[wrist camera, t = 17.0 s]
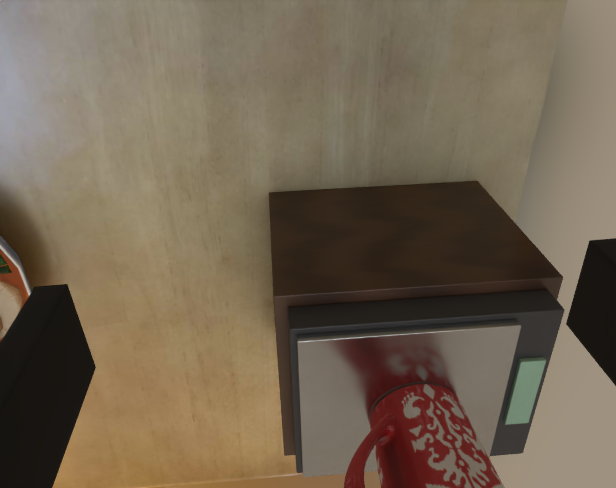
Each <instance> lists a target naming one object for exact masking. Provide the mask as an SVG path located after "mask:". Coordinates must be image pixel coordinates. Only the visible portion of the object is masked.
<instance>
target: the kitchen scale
mask: <svg viewBox="0 0 616 488" xmlns="http://www.w3.org/2000/svg"><path fill="white" fill-rule="evenodd" d="M563 313H564V309H563V307H562V306H561V305H560V304H559V302H558V301H557V300H556V299H555V298H554V296H553V295H552V294H551V293H550V291H549V290H548V289H545V290H530V291H515V292H501V293H486V294H471V295H457V296H442V297H428V298H413V299H398V300H384V301H369V302H354V303H340V304H325V305H311V306H296V307H288V325H289V344H290V362H291V381H292V400H293V419H294V438H295V455H296V469H297V473H302V472H303V477H313V476H323V475H335V474H346V472H347V469H348V466H349V464H350V462H351V459H352V458H353V456H354V454H355V452H356V450H357V449H358V447H359V446H360V444H361V443H362V441H363V440H364V439H365V437H366V436H367V435H368V434H369V432H370V431H371V429H370V418H371V415H372V412H373V410H374V408H375V407H376V405H377V404H378V403H379V402H380V401H381V400H382V399H383V398H384V397H386V396H387V395H388V394H390V393H392V392H393V391H395V390H398V389H400V388H403V387H406V386H410V385H415V384H432V385H438V386H441V387H444V388H446V389H448V390H449V391H451V392H452V393H454V395H455V396H456V397H457V398H458V400H459V401H460V403H461V405H462V406H463V408H464V410H465V412H466V414H467V416H468V418H469V420H470V422H471V424H472V426H473V428H474V431H475V433H476V434H477V436H478V438H479V440H480V442H481V444H482V446H483V448H484V449H485V451H486V453H487V455H488V457H490V456H496V455H506V454H507V455H508V454H519V453H523V450H524V447H525V444H526V440H527V437H528V433H529V429H530V426H531V423H532V419H533V416H534V413H535V409H536V406H537V402H538V399H539V395H540V392H541V389H542V385H543V382H544V378H545V375H546V372H547V368H548V365H549V361H550V358H551V354H552V351H553V348H554V344H555V341H556V337H557V334H558V330H559V327H560V324H561V320H562V317H563ZM369 471H378V467H377V461H376V455H375V450H374V448H373V450H372V451H371V453H370V455H369V457H368V459H367V461H366V465H365V469H364V472H369Z"/></svg>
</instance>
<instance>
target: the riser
mask: <svg viewBox="0 0 616 488" xmlns="http://www.w3.org/2000/svg"><path fill="white" fill-rule="evenodd" d="M269 206H270V230H271V253H272V277H273V299H274V313H275V328H276V342H277V356H278V371H279V385H280V400H281V414H282V428H283V443H284V455H285V456H286V455H295V438H294V419H293V400H292V381H291V362H290V344H289V325H288V307H296V306H311V305H325V304H340V303H354V302H369V301H384V300H398V299H413V298H428V297H442V296H457V295H471V294H486V293H501V292H515V291H530V290H545V289H548V290H549V291H550V293H551V294H552V295H553V296H554V298H555V299H556V300H557V298H558V294H559V290H560V287H561V283H562V280H563V276H562V275H561V274H560V273H559V272H558V271H557V270H556V269H555V268H554V266H553V265H552V264H551V263H550V262H549V261H548V260H547V259H546V258H545V256H544V255H543V254H542V253H541V252H540V251H539V250H538V248H537V247H536V246H535V245H534V244H533V243H532V242H531V241H530V240H529V239H528V237H527V236H526V235H525V234H524V233H523V232H522V231H521V229H520V228H519V227H518V226H517V225H516V224H515V223H514V222H513V220H512V219H511V218H510V217H509V216H508V215H507V214H506V213H505V211H504V210H503V209H502V208H501V207H500V206H499V205H498V204H497V203H496V201H495V200H494V199H493V198H492V197H491V196H490V195H489V194H488V192H487V191H486V190H485V189H484V188H483V187H482V186H481V185H480V184H479V182H478V181H471V182H453V183H435V184H417V185H399V186H381V187H362V188H344V189H326V190H308V191H290V192H272V193H269Z"/></svg>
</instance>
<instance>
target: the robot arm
mask: <svg viewBox="0 0 616 488" xmlns="http://www.w3.org/2000/svg"><path fill="white" fill-rule="evenodd" d="M566 324H567V326H568V327H569V328H570V329H571V331H572V332H573V333H574V334H575V336H576V337H577V338H578V339H579V341H580V342H581V343H582V344H583V346H584V347H585V348H586V349H587V351H588V352H589V353H590V354H591V356H592V357H593V358H594V359H595V361H596V362H597V363H598V364H599V366H600V367H601V368H602V369H603V371H604V372H605V373H606V374H607V375H608V377H609V378H610V379H611V380H612V382H613V383H614V384H615V386H616V239H604V240H592V241H589V245H588V248H587V251H586V255H585V259H584V262H583V266H582V269H581V273H580V277H579V280H578V284H577V288H576V291H575V295H574V298H573V302H572V305H571V309H570V312H569V316H568V319H567V323H566ZM95 368H96V367H95V364H94V361H93V358H92V355H91V352H90V349H89V346H88V343H87V341H86V338H85V335H84V332H83V329H82V326H81V323H80V320H79V317H78V314H77V311H76V309H75V306H74V303H73V300H72V297H71V294H70V291H69V288H68V285H67V284H63V285H51V286H39V287H34V289H33V290H32V292H31V294H30V295H29V297H28V299H27V300H26V302H25V303H24V305H23V307H22V308H21V310H20V312H19V313H18V315H17V316H16V318H15V320H14V321H13V323H12V324H11V326H10V328H9V329H8V331H7V333H6V334H5V336H4V337H3V339H2V341H1V342H0V488H52V487H53V484H54V481H55V478H56V476H57V473H58V470H59V467H60V465H61V462H62V459H63V456H64V454H65V451H66V448H67V445H68V443H69V440H70V437H71V434H72V432H73V429H74V426H75V423H76V420H77V418H78V415H79V412H80V409H81V407H82V404H83V401H84V398H85V396H86V393H87V390H88V387H89V385H90V382H91V379H92V376H93V374H94V371H95Z"/></svg>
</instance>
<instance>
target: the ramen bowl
mask: <svg viewBox="0 0 616 488" xmlns="http://www.w3.org/2000/svg"><path fill="white" fill-rule="evenodd" d="M31 292H32V290H31V287H30V285H29V282H28V279H27V277H26V274H25V271H24V269H23V266H22V264H21V261H20V259H19V257H18V255H17V254H16V253H15V251H14V250H13V249H12V248H11V247H10V246H9V245H8V244H7V242H6V241H5V240H4V239H3V238H2V237H1V236H0V342H1V341H2V339H3V337H4V336H5V334H6V333H7V331H8V329H9V328H10V326H11V324H12V323H13V321H14V320H15V318H16V316H17V315H18V313H19V312H20V310H21V308H22V307H23V305H24V303H25V302H26V300H27V299H28V297H29V295H30V294H31Z"/></svg>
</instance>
